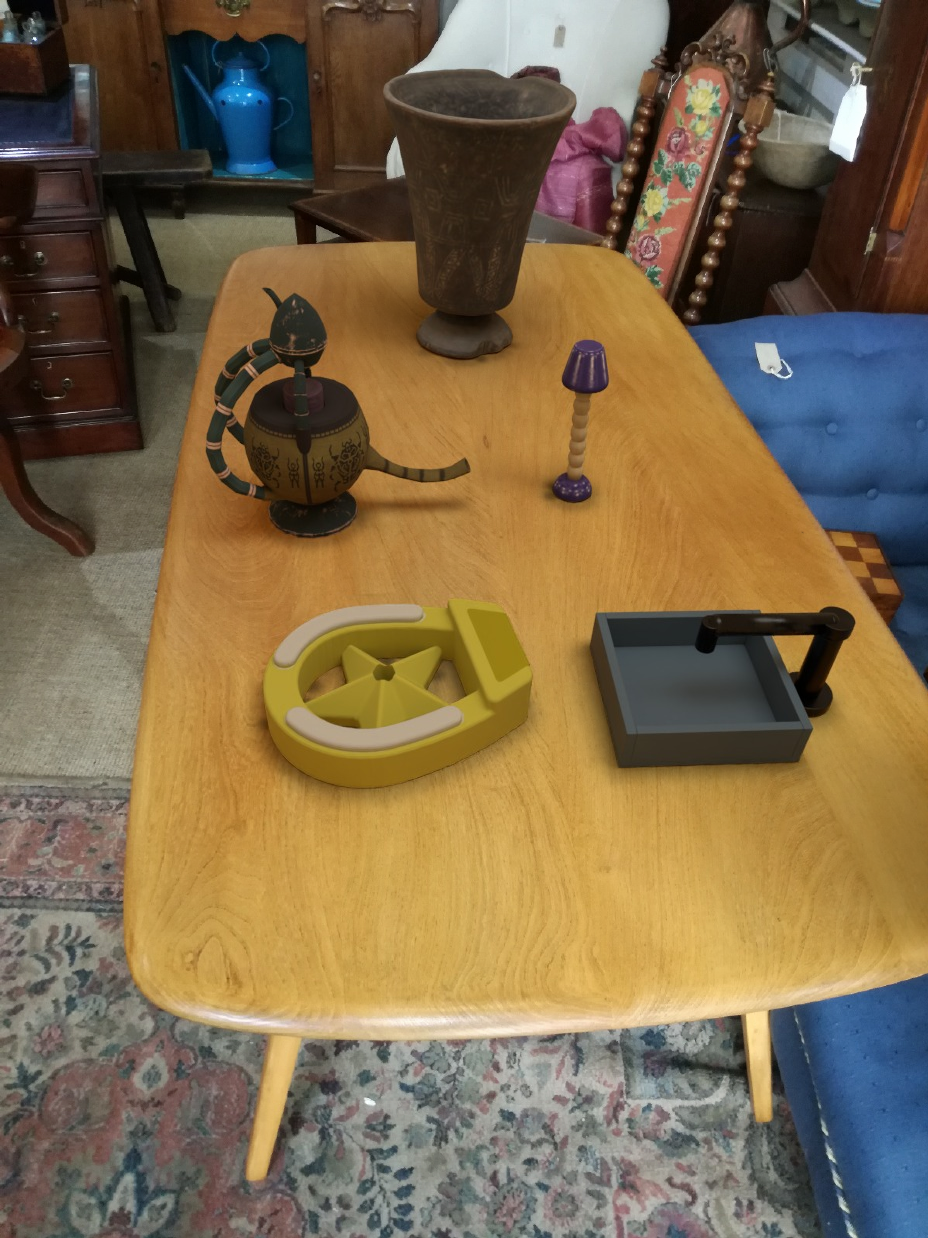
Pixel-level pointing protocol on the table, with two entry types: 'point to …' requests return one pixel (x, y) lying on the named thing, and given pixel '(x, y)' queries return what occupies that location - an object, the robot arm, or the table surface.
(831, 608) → the spout
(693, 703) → the sink
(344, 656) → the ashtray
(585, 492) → the toy lamp
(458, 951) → the table surface
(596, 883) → the table surface
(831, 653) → the tap column
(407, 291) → the table surface
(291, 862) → the table surface
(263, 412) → the teapot
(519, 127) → the vase
